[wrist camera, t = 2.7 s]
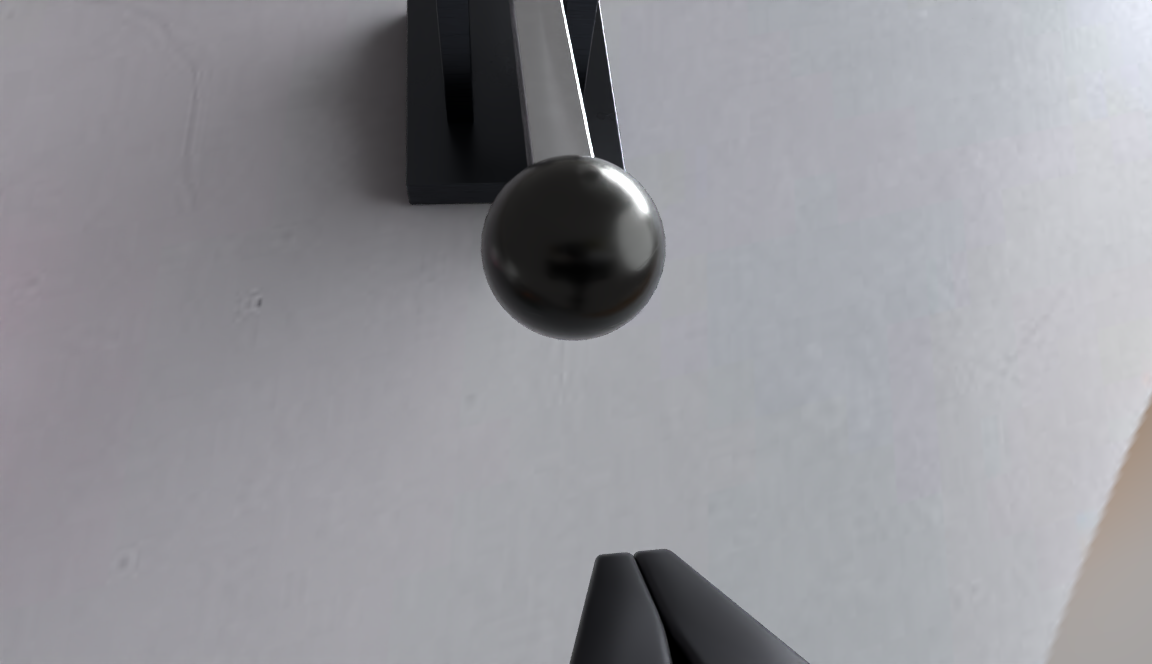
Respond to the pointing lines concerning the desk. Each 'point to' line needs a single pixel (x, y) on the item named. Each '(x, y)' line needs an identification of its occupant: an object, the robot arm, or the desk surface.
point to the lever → (566, 204)
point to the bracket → (487, 97)
